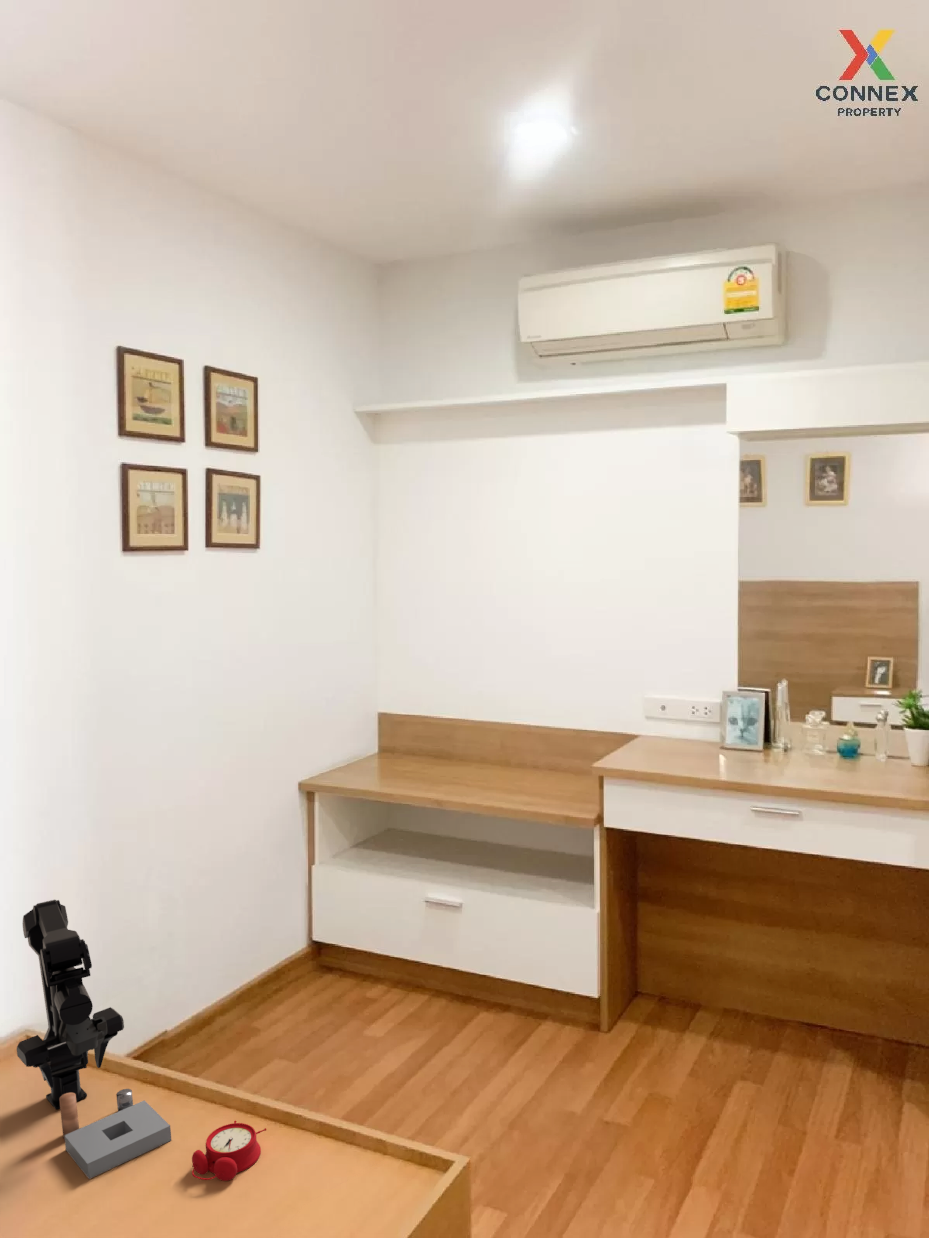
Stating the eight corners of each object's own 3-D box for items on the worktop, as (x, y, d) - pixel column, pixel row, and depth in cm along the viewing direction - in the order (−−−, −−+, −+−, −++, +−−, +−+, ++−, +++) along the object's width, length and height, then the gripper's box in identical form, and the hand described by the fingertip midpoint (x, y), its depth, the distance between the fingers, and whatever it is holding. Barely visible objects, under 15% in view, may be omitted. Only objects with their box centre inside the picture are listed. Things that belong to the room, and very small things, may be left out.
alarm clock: (274, 1125, 192) (224, 1155, 178) (272, 1160, 191) (222, 1192, 177) (229, 1114, 196) (178, 1142, 182) (227, 1148, 195) (175, 1179, 182)
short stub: (115, 1111, 205) (114, 1092, 205) (130, 1105, 207) (128, 1086, 207) (121, 1117, 203) (119, 1098, 202) (135, 1111, 205) (134, 1092, 204)
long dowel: (61, 1135, 198) (57, 1096, 197) (76, 1128, 200) (72, 1090, 199) (66, 1141, 196) (62, 1103, 195) (81, 1134, 198) (78, 1096, 197)
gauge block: (65, 1149, 193) (64, 1135, 193) (145, 1113, 204) (144, 1100, 203) (89, 1178, 184) (87, 1163, 184) (171, 1139, 194) (170, 1125, 194)
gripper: (32, 1036, 181) (41, 1116, 183) (132, 998, 193) (139, 1073, 195) (12, 1013, 189) (20, 1090, 191) (108, 978, 201) (115, 1051, 203)
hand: (75, 1076), depth 195 cm, fingers open, 9 cm apart
